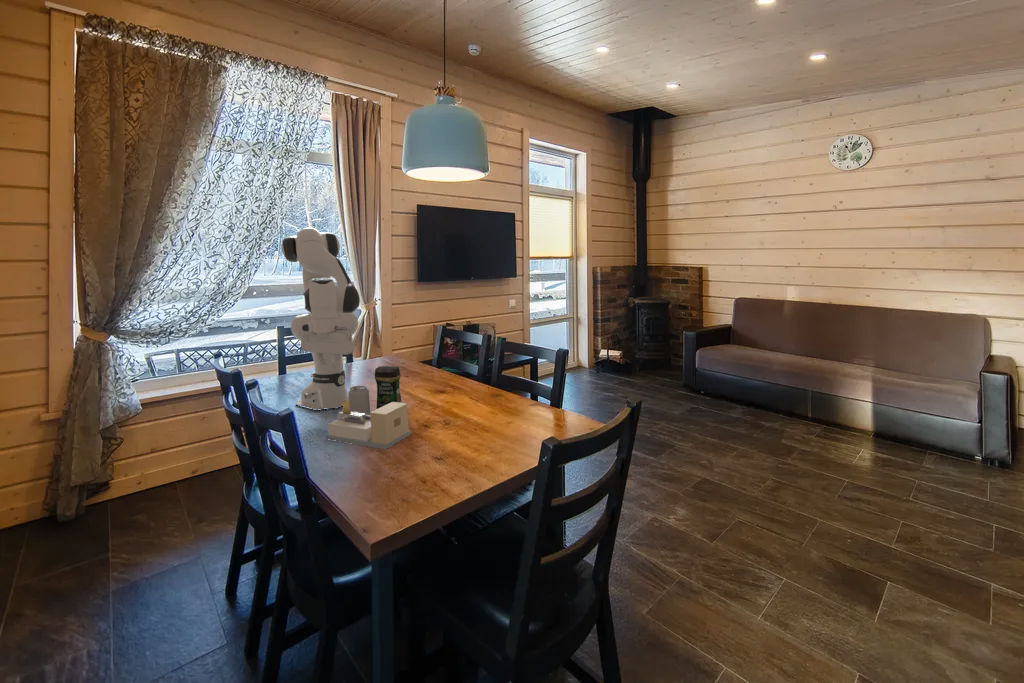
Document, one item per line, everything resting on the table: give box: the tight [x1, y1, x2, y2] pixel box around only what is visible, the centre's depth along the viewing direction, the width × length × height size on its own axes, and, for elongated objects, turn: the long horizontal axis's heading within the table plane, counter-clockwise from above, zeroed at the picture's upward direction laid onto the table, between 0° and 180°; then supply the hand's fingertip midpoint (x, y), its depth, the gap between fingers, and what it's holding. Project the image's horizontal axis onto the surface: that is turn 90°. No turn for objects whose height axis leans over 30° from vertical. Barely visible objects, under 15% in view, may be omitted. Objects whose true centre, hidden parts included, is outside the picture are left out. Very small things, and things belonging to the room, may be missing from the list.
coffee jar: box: [374, 365, 403, 409], centre depth 192 cm, size 10×8×19 cm
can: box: [347, 385, 371, 415], centre depth 187 cm, size 8×8×12 cm
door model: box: [326, 402, 412, 450], centre depth 166 cm, size 24×14×12 cm, turn 68°
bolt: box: [336, 401, 366, 420], centre depth 168 cm, size 10×3×6 cm, turn 68°
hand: (329, 365), depth 169 cm, fingers open, 4 cm apart
